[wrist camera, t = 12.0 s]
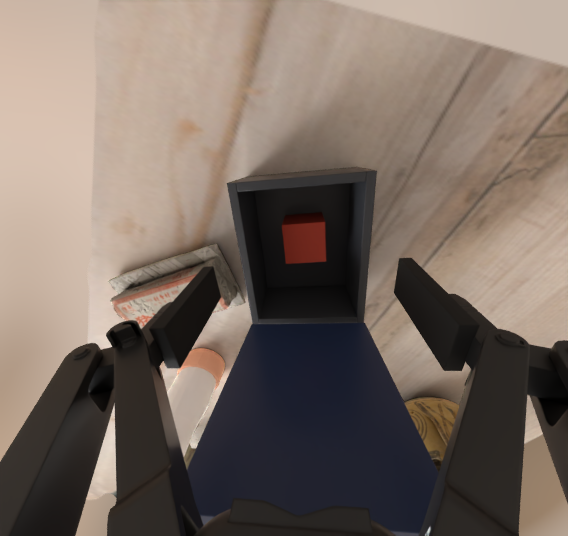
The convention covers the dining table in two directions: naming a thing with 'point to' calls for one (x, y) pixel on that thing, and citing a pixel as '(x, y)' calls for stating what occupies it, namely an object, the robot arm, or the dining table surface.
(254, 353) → the cover
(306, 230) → the red cube
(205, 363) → the pepper shaker
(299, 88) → the dining table surface
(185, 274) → the packaged product
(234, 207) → the case
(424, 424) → the ceramic bowl
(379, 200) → the dining table surface
